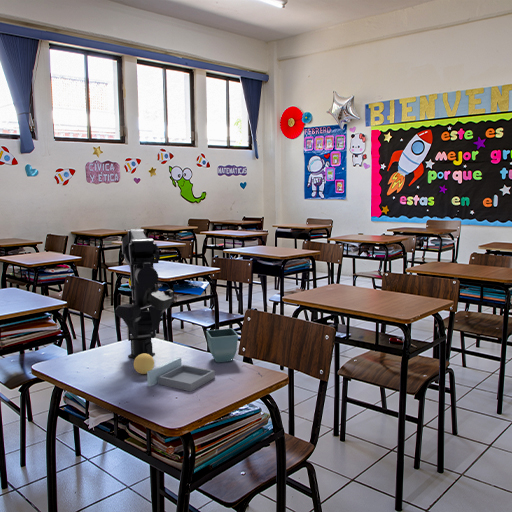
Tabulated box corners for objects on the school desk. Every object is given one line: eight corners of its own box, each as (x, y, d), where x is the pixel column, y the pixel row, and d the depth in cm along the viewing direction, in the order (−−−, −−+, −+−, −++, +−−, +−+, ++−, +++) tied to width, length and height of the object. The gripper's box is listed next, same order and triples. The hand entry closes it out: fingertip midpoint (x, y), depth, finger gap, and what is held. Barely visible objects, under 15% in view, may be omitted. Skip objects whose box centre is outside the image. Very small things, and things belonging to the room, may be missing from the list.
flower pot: (211, 365, 153) (210, 337, 152) (206, 357, 161) (205, 330, 160) (239, 362, 155) (238, 335, 154) (232, 354, 164) (232, 328, 163)
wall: (147, 385, 137) (147, 371, 137) (179, 370, 149) (178, 357, 149) (150, 386, 137) (149, 372, 136) (181, 370, 149) (181, 357, 148)
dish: (158, 384, 138) (157, 376, 138) (183, 371, 148) (183, 364, 148) (191, 391, 133) (190, 383, 132) (214, 377, 143) (214, 370, 142)
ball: (129, 375, 146) (128, 355, 145) (143, 368, 151) (142, 349, 150) (145, 378, 143) (144, 358, 142) (158, 371, 148) (158, 352, 147)
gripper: (144, 289, 132) (146, 346, 134) (185, 278, 148) (187, 329, 150) (113, 286, 137) (115, 341, 139) (156, 276, 153) (157, 325, 155)
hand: (146, 334), depth 146 cm, fingers open, 9 cm apart
